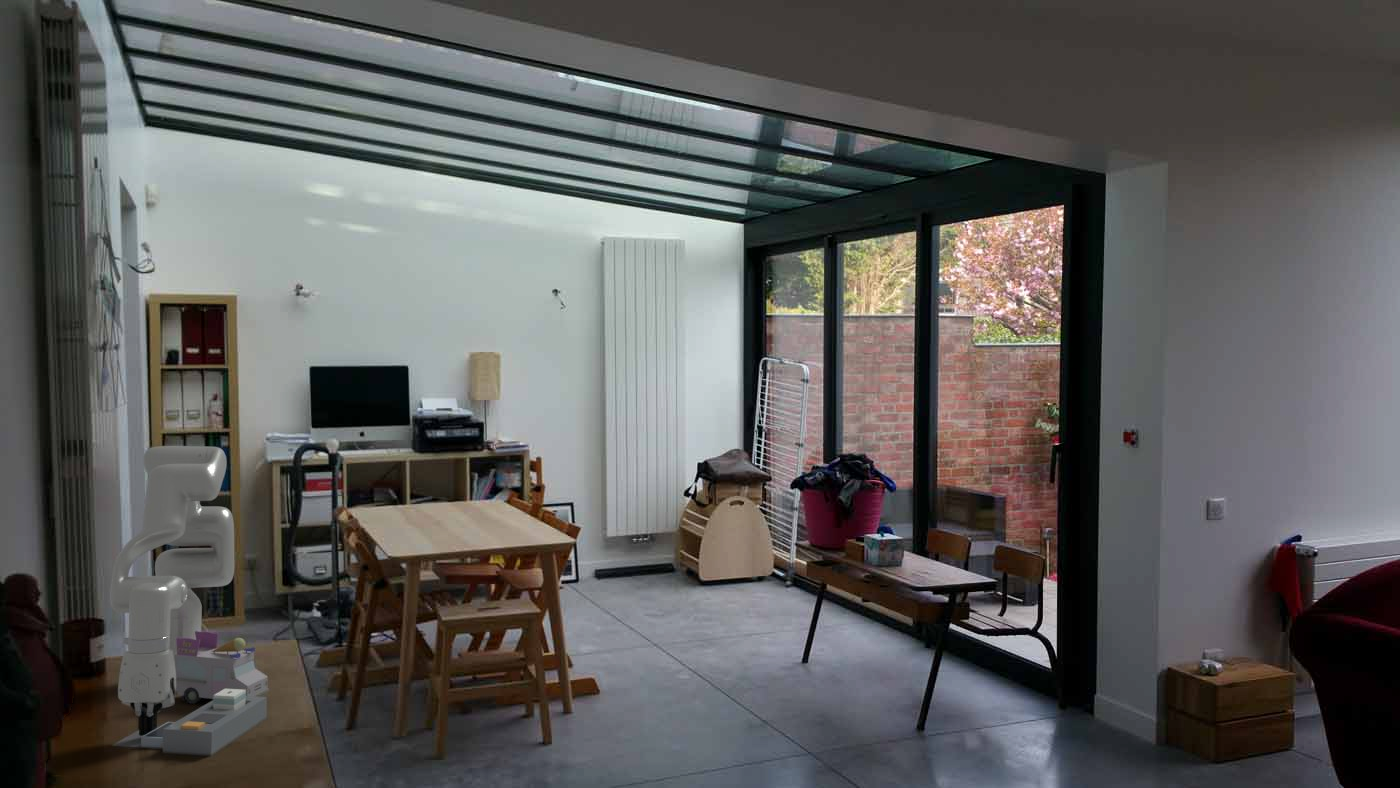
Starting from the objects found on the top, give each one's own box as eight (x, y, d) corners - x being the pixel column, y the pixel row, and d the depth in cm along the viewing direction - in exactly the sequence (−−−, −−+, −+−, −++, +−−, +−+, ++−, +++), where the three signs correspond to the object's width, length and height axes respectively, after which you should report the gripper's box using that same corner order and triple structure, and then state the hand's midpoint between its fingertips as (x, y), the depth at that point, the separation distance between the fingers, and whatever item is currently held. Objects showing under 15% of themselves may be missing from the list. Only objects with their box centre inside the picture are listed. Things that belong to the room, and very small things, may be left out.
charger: (224, 720, 222) (225, 688, 222) (245, 721, 222) (245, 689, 222) (212, 728, 218) (213, 695, 218) (233, 729, 218) (234, 696, 217)
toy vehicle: (245, 712, 230) (247, 645, 230) (169, 703, 234) (170, 637, 234) (270, 699, 239) (272, 635, 239) (196, 691, 243) (197, 628, 243)
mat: (141, 729, 217) (141, 728, 217) (196, 733, 216) (196, 731, 216) (111, 746, 207) (111, 745, 207) (168, 750, 206) (168, 748, 206)
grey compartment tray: (222, 717, 226) (222, 691, 226) (266, 719, 226) (266, 694, 226) (162, 754, 204) (163, 725, 204) (211, 757, 204) (211, 728, 204)
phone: (167, 730, 216) (167, 721, 216) (190, 732, 216) (190, 722, 216) (141, 746, 207) (141, 736, 207) (164, 747, 207) (165, 738, 207)
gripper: (102, 647, 208) (100, 737, 209) (173, 651, 207) (171, 742, 208) (126, 638, 216) (124, 725, 216) (194, 641, 215) (192, 729, 215)
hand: (147, 733), depth 212 cm, fingers closed
